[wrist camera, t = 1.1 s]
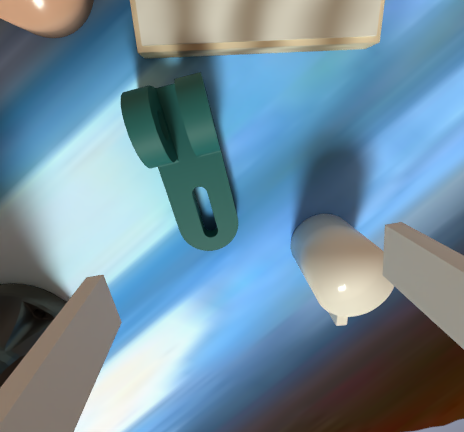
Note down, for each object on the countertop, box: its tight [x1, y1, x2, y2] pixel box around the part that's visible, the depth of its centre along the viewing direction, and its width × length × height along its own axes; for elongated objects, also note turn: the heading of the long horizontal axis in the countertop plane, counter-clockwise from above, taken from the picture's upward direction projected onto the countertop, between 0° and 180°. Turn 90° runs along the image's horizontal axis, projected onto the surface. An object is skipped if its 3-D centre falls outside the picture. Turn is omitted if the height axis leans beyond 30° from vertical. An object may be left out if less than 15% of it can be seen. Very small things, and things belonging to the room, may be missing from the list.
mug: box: [291, 214, 394, 326], centre depth 30 cm, size 8×11×9 cm
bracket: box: [121, 72, 238, 251], centre depth 27 cm, size 18×7×8 cm, turn 14°
